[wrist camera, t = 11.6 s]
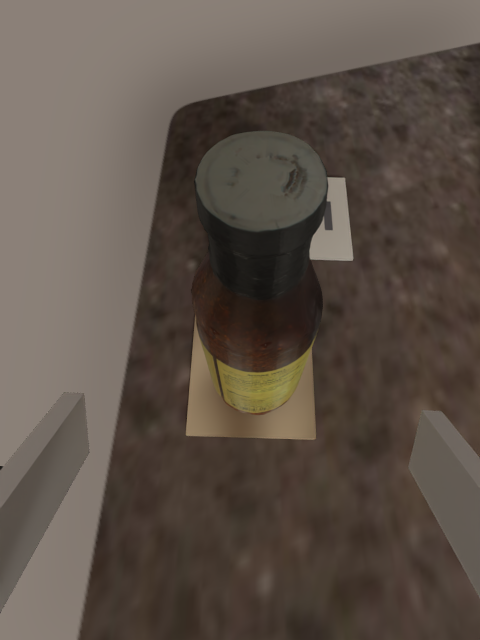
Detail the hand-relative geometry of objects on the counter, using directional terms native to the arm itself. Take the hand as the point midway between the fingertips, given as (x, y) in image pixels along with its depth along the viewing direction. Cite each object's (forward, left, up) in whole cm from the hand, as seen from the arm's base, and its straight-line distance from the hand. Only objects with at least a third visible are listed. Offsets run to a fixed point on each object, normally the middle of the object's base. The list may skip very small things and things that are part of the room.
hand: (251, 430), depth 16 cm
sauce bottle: (-1, -6, -13) cm, 14 cm away
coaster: (-1, -6, -13) cm, 15 cm away
